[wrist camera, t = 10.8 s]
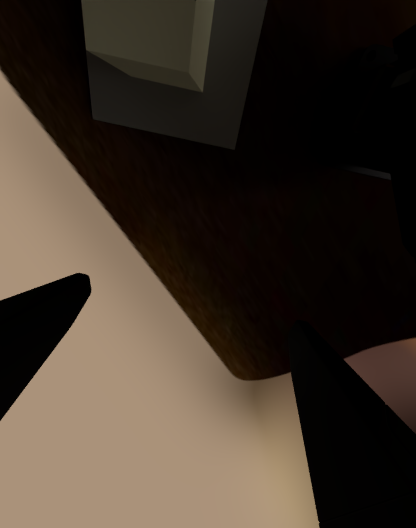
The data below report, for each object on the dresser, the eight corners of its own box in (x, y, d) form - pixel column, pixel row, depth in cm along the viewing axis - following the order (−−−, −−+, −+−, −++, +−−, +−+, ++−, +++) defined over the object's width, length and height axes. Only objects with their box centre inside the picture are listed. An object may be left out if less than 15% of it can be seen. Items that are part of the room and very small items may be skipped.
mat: (289, -100, 10) (291, -111, 10) (234, 149, 16) (234, 149, 16) (71, -149, 10) (65, -161, 10) (96, 119, 16) (92, 119, 16)
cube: (217, -23, 11) (208, -118, 7) (202, 92, 14) (188, 72, 10) (129, -43, 11) (66, -150, 7) (131, 76, 14) (86, 49, 10)
